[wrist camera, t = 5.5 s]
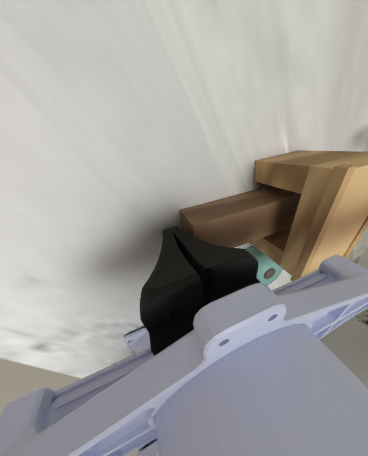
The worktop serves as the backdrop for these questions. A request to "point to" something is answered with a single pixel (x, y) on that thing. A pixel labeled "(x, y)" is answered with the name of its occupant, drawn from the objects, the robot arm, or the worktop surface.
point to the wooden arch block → (316, 206)
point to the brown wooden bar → (242, 216)
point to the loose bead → (265, 266)
